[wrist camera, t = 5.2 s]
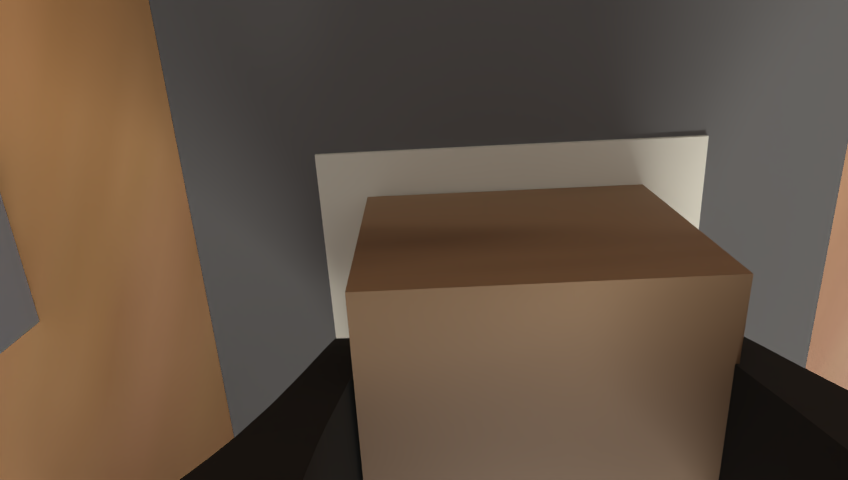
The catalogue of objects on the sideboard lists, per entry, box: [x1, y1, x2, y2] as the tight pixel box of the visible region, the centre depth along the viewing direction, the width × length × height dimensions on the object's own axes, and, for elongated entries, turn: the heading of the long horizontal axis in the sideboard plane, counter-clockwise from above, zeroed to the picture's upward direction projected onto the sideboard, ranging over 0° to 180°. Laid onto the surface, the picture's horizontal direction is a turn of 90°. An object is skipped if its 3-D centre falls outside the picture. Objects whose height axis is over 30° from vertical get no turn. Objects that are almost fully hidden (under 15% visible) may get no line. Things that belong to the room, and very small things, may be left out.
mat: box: [149, 0, 848, 438], centre depth 13 cm, size 14×12×1 cm
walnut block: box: [345, 184, 753, 480], centre depth 10 cm, size 5×5×4 cm
